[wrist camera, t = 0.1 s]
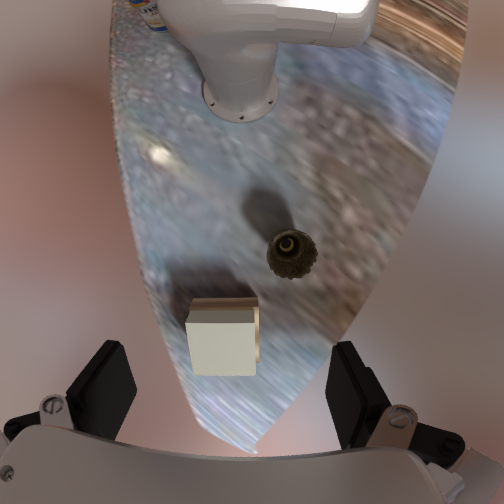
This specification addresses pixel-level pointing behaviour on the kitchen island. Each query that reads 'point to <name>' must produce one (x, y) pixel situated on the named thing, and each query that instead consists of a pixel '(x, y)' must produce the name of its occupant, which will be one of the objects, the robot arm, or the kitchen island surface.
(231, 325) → the tower top
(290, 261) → the dark brown tapered piece
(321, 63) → the kitchen island surface
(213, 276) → the kitchen island surface
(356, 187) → the kitchen island surface
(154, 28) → the beverage bottle
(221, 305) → the box
